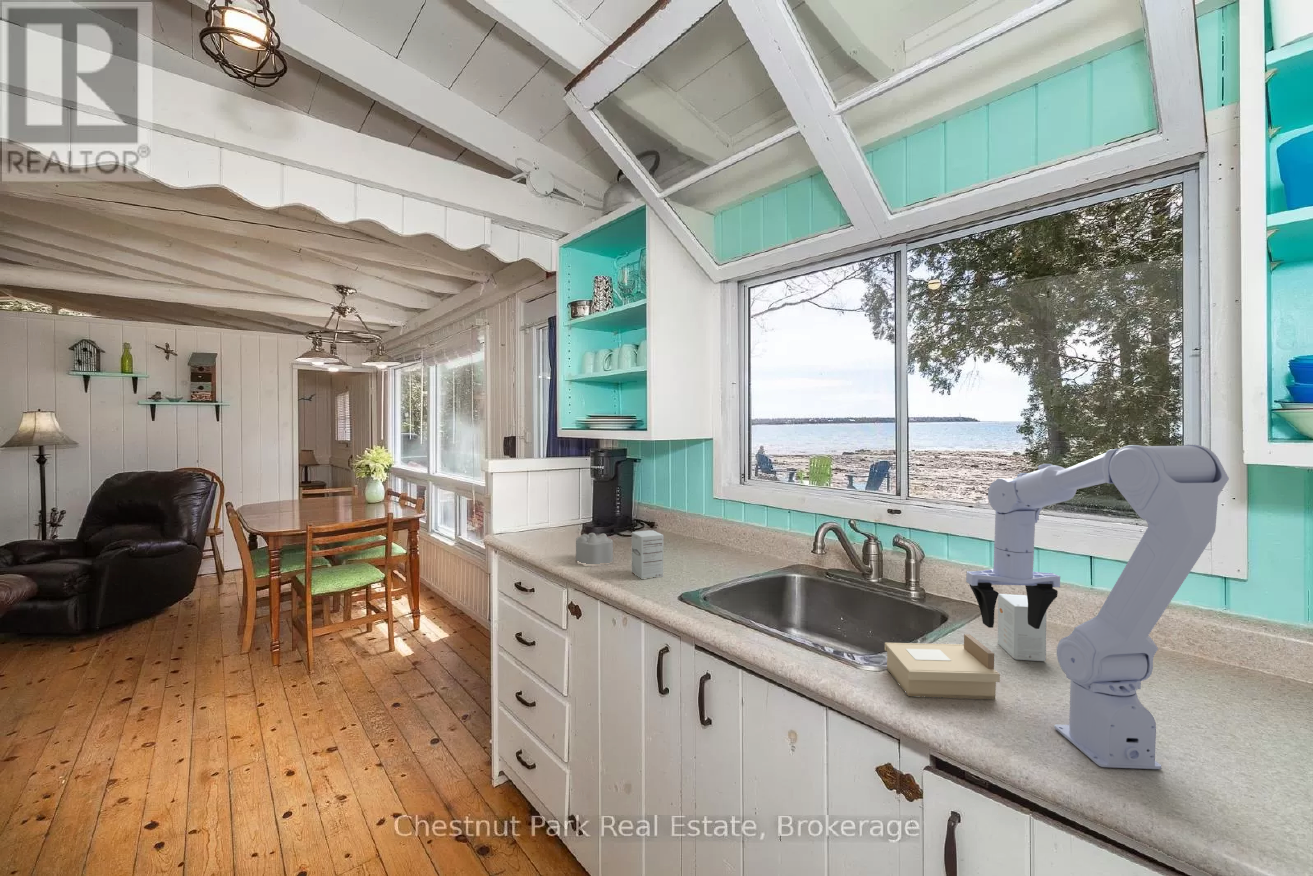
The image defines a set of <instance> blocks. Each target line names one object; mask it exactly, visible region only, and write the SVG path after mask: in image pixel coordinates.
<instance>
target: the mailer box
mask: <svg viewBox="0 0 1313 876" xmlns="http://www.w3.org/2000/svg"><path fill="white" fill-rule="evenodd" d="M886 653H887V654H886V670H887V669H888V670H887V672H888V673H889V672H890V673H891V674H892V675H891V674H890V673H889V674H890V675H891V676H892V678H893V677H894V678H895V679H896V680H897V682H898V683H899V684H900V685H899V684H898V683H897V682H896V683H897V684H898V685H899V687H900V686H901V687H902V688H903V689H904V691H906V693H907V694H906V693H905V694H906V696H907V695H908V696H920V697H919V698H925V697H938V698H937V699H960V700H961V699H963V700H994V701H996V694H997V693H996V689H997V682H973V681H937V680H909V679H908V671H907V670H906V669H905V668H904V667H903V666H902V664H901V663H900V662H899V661H898V660H897V659H896V657H895V656H894V655H893V654H892V653H891V651H890V650H889V649H888V648H887V651H886ZM894 678H893V679H894ZM895 679H894V680H895ZM896 680H895V681H896ZM901 687H900V688H901ZM902 688H901V689H902ZM903 689H902V690H903ZM904 691H903V692H904ZM908 696H907V697H908ZM922 696H923V697H922ZM924 696H925V697H924ZM939 697H940V698H939ZM941 697H943V698H941Z"/></svg>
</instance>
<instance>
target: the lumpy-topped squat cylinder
mask: <svg viewBox="0 0 1313 876" xmlns="http://www.w3.org/2000/svg"><path fill="white" fill-rule="evenodd" d="M613 543H614V542H613V539H612V538H610V537H608V536H607V534H606V533H600V534H598V535H596V533H595V532H589V533H588V534H587V533H583V534H581V535H580V536H578V537H577V538H576V539H575V561H576V560H577V561H579V562H581V563H586V564H600V563H610V562H612V561H613V562H614V557H613V556H614V554H613V553H614V546H613V545H614V544H613Z"/></svg>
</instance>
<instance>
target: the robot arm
mask: <svg viewBox="0 0 1313 876" xmlns="http://www.w3.org/2000/svg"><path fill="white" fill-rule="evenodd" d="M1037 468H1038V469H1037V470H1034V471H1031V472H1020V473H1018V474H1017V475H1016V477H1015V478H1012V479H1009V478H1008V479H1006V478H1002V477H999V478H996V480H993V482H991V483H990V485H989V487H988V489H987V490H988V491H987V499H988V503H989V505H990V507H991V508H992V509H993V510H994V512H995V514H994V515H995V516H994V518H995V519H994V542H993V543H994V545H993V546H994V547H993V568H991V569H983V570H974V571H973V570H972V571H968V570H967V571H966V580H965V582H966V583H967V584H969V587H970V589H971V590H972V593H973V595H974V597H975V599H976V601H977V604H978V608H979V612H980V615H981V619H982V624H983V625H984V626H986V627H987V628H988V629H990V628H991V629H993V628H994V624H995V609H996V605H997V604H996V603H997V601H998V594H1000V593H999V592H998V591H997V590H995V589H994V586H1025V590H1026V591H1025V592H1026V595H1027V599H1028V616H1027V618H1028V624H1029V625H1030V626H1032V627H1033V628H1035V629H1039V628H1040V625H1041V622H1042V619H1043V617H1044V615H1045V613H1046V614H1047V610H1048V609H1049V607H1050V606H1051V604H1052V603H1053V602H1054V601H1055V599H1056V598H1057V597H1058V590H1057V589H1055V588H1060V587H1061V576H1060V575H1058V574H1056V573H1054V572H1043V571H1034V557H1035V552H1034V551H1035V536H1036V535H1035V533H1036V532H1035V531H1036V529H1035V528H1036V524H1037V523H1038V521H1039V519H1040V513H1041V511H1042V509H1043V508H1045V507H1048V506H1052V505H1056V504H1060V503H1064V502H1068V501H1070V500H1072V499H1073V498H1074V497H1075V495H1076V493H1077V490H1080V489H1085V488H1089V487H1093V486H1097V485H1102V484H1109V485H1110V484H1111V485H1114V486H1115V488H1116V489H1117V490H1118V491H1119V493H1120V494H1121V496H1122V497H1123V498H1124V499H1125V501H1126V502H1127V503H1128V504H1129V505H1130V507H1131V508H1132V509H1133V511H1134V512H1135V513H1136V515H1138V517H1139V518H1140V519H1142V520H1145V522H1146V523H1147V527H1146V530H1145V532H1144V533H1143V535H1142V537H1141V538H1140V540H1139V542H1138V543H1137V545H1136V547H1135V548H1134V549H1135V550H1134V551H1133V552H1132V554H1131V556H1130V558H1129V559H1128V561H1127V563H1126V565H1125V566H1124V568H1123V570H1122V571H1121V574H1119V577H1118V578H1117V580H1116V581H1115V583H1114V585H1113V587H1112V588H1111V591H1110V592H1109V594H1108V596H1107V597H1106V600H1105V601H1104V603H1103V605H1102V606H1101V608H1100V609H1099V610H1098V611H1099V612H1098V613H1097V615H1096V616H1094V617H1092V618H1091V619H1089V620H1086V621H1084V622H1083V623H1080V624H1078V625H1077V626H1075V627H1074V629H1073V630H1072V632H1071V633H1070V634H1069V635H1067V636H1065V637H1062V638H1061V639H1060V640H1059V641H1058V643H1057V646H1056V658H1057V661H1058V665H1059V666H1060V669H1061V671H1062V672H1063V673H1064V674H1065V677H1066V679H1068V680H1070V681H1069V682H1070V685H1069V717H1068V718H1069V719H1068V721H1069V722H1068V724H1056V723H1055V724H1054V726H1053V727H1054V729H1055V730H1056V731H1058V732H1059V733H1060V734H1061V735H1062V736H1063V737H1064V738H1065V739H1066V740H1068V741H1069V742H1070V743H1071V744H1073V745H1074V746H1075V747H1076V748H1077V749H1078V750H1080V752H1082V753H1083V754H1084V755H1085V756H1087V758H1089V759H1090V760H1091V761H1092V762H1094V763H1095V764H1096V765H1097V766H1099V767H1102V768H1116V769H1117V768H1118V769H1121V768H1122V769H1140V770H1141V769H1143V770H1144V769H1145V770H1146V769H1147V770H1162V765H1161V763H1159V762H1158V761H1157V760H1156V738H1157V735H1156V734H1157V723H1156V719H1155V717H1154V715H1153V714H1152V712H1151V711H1149V710H1148V708H1146V707H1145V706H1144V705H1143V704H1142V703H1141V701H1140V699H1139V697H1138V695H1137V690H1141V688H1142V686H1141V685H1142V682H1143V681H1146V680H1147V679H1149V678H1150V677H1151V676H1152V674H1153V670H1154V657H1155V655H1156V653H1157V651H1159V648H1158V646H1157V644H1156V643H1155V641H1154V640H1153V639H1152V637H1151V636H1150V634H1151V632H1152V631H1153V630H1154V628H1155V626H1156V625H1157V623H1158V622H1159V620H1160V619H1161V617H1162V615H1163V614H1164V612H1165V611H1166V609H1167V608H1168V606H1169V604H1170V603H1171V602H1172V600H1173V599H1174V597H1175V596H1176V594H1177V592H1178V591H1179V589H1180V588H1181V586H1182V584H1183V583H1184V582H1185V580H1186V578H1187V577H1188V576H1189V575H1190V572H1191V571H1192V569H1193V568H1194V566H1195V565H1196V563H1197V562H1198V560H1199V558H1200V557H1201V555H1203V552H1204V551H1205V550H1206V548H1207V546H1208V545H1209V543H1210V542H1211V540H1212V539H1213V537H1214V535H1215V533H1216V528H1217V513H1218V502H1219V500H1218V499H1219V496H1220V494H1221V493H1222V491H1223V489H1224V487H1225V486H1226V485H1227V483H1228V482H1229V480H1230V477H1229V475H1228V474H1227V472H1226V470H1225V469H1224V466H1223V464H1222V463H1221V460H1220V459H1219V458H1218V456H1217V455H1216V454H1215V452H1214V451H1212V450H1211V449H1209V448H1208V447H1205V446H1204V445H1200V444H1185V445H1138V444H1129V445H1124V446H1122V447H1120V448H1114V449H1113V448H1111V449H1108V450H1107V451H1106V452H1104V453H1102V454H1099V455H1097V456H1095V457H1092V458H1089V459H1087V460H1086V459H1085V460H1083V461H1082V462H1079V463H1076V464H1074V465H1071V466H1069V467H1066V468H1065V467H1063V466H1060V465H1054V464H1052V463H1042V464H1040V465H1039V464H1038V466H1037ZM993 585H994V586H993Z"/></svg>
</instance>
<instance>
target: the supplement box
mask: <svg viewBox="0 0 1313 876" xmlns="http://www.w3.org/2000/svg"><path fill="white" fill-rule="evenodd" d="M632 572H633V573H634V574H635V576H636V575H637V576H638V577H637V576H636V577H637V578H639V577H640V578H641V579H644V578H650V577H659V578H662V577H664V534H662V533H660V532H657V531H656V530H653V529H648V530H639V531H632V532H631V573H632ZM634 574H633V575H634ZM640 578H639V579H640ZM641 579H640V580H641ZM644 580H645V579H644Z"/></svg>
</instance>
